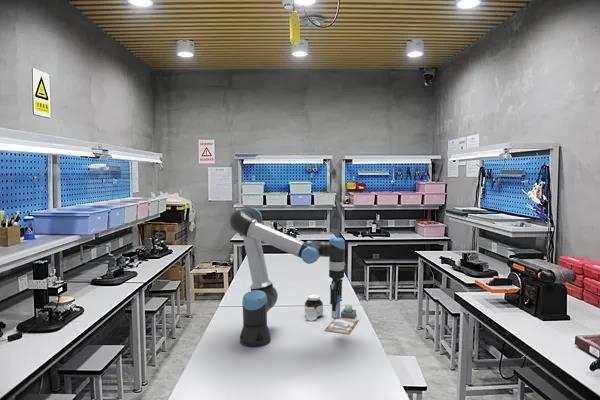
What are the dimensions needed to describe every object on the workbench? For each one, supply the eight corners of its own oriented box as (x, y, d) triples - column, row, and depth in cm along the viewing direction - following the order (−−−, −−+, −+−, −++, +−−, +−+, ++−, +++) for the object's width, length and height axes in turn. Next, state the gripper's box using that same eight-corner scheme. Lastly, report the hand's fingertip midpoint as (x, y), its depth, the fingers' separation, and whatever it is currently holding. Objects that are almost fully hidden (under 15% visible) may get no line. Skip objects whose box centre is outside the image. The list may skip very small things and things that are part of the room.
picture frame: (349, 334, 205) (349, 333, 205) (324, 331, 210) (324, 329, 210) (358, 320, 223) (358, 319, 223) (336, 317, 228) (336, 316, 228)
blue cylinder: (338, 319, 199) (339, 297, 199) (330, 318, 201) (331, 296, 200) (340, 316, 203) (341, 295, 202) (333, 315, 205) (333, 294, 204)
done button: (351, 314, 227) (351, 307, 227) (343, 313, 229) (343, 306, 229) (353, 312, 231) (353, 305, 231) (346, 311, 233) (345, 304, 232)
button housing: (353, 319, 226) (353, 314, 225) (340, 317, 228) (340, 312, 228) (356, 315, 232) (356, 309, 232) (344, 313, 235) (344, 308, 235)
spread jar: (319, 312, 237) (319, 293, 236) (327, 319, 226) (327, 299, 225) (300, 315, 232) (299, 295, 231) (307, 322, 222) (307, 301, 221)
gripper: (339, 274, 191) (338, 322, 193) (348, 266, 206) (347, 310, 208) (323, 272, 194) (323, 320, 196) (334, 264, 209) (333, 308, 211)
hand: (335, 315), depth 202 cm, fingers closed on blue cylinder, 4 cm apart
